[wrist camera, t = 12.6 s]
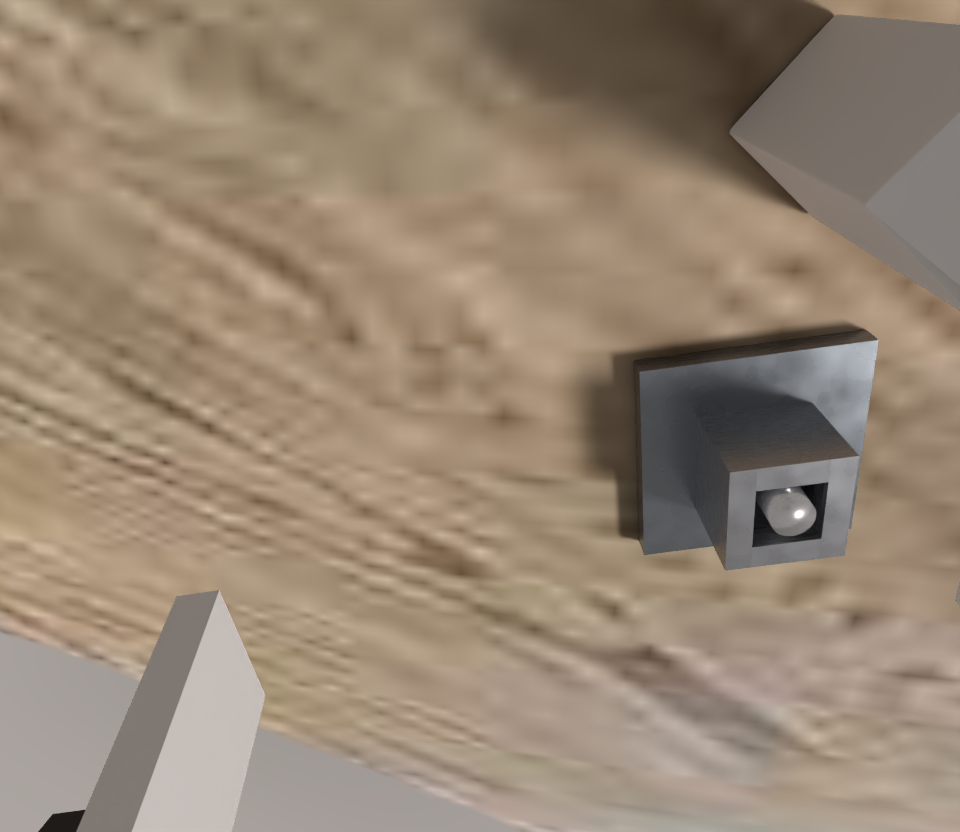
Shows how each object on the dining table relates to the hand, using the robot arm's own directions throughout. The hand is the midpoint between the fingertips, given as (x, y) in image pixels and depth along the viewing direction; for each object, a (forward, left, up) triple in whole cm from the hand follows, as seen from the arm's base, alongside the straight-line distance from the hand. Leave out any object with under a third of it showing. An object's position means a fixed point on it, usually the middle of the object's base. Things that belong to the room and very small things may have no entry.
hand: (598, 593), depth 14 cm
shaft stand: (+19, +14, -31) cm, 39 cm away
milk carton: (-1, +17, -32) cm, 36 cm away
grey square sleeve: (+19, +14, -30) cm, 38 cm away
